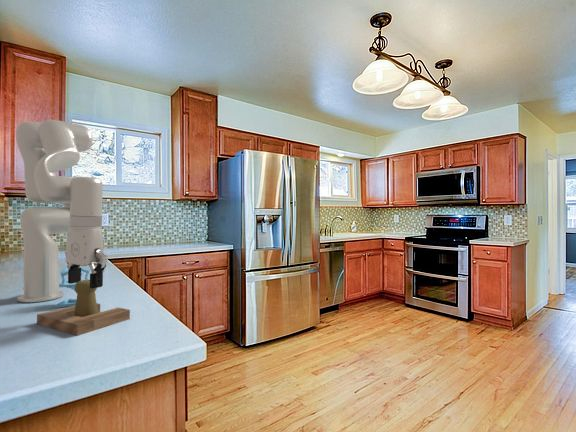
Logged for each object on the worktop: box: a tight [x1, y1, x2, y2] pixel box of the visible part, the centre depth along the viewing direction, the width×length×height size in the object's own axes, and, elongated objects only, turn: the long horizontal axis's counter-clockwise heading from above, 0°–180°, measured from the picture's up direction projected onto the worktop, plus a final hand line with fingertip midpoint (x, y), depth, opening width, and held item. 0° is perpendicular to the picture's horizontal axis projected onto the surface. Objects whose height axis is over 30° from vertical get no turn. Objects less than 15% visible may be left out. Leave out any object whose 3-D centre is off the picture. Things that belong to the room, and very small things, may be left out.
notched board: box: [36, 302, 131, 336], centre depth 87 cm, size 18×14×2 cm
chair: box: [54, 266, 91, 309], centre depth 104 cm, size 8×8×12 cm
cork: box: [74, 279, 98, 317], centre depth 88 cm, size 6×6×11 cm
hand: (85, 285), depth 88 cm, fingers open, 9 cm apart
